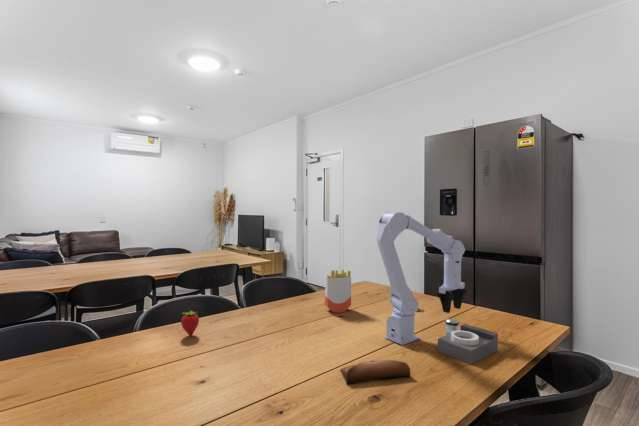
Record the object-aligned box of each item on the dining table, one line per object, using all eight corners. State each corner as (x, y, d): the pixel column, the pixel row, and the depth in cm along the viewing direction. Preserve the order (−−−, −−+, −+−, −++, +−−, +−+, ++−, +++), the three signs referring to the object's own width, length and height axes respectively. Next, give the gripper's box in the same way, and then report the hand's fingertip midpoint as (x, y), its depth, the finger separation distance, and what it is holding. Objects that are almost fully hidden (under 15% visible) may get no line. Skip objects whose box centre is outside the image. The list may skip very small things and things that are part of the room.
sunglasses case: (396, 362, 98) (402, 348, 95) (406, 385, 93) (412, 371, 89) (337, 369, 94) (341, 354, 91) (343, 394, 88) (348, 379, 85)
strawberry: (180, 340, 114) (180, 311, 114) (181, 332, 121) (181, 305, 121) (198, 338, 116) (198, 309, 116) (199, 331, 123) (199, 303, 123)
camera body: (471, 364, 98) (471, 345, 98) (437, 351, 107) (437, 334, 106) (497, 350, 107) (497, 333, 107) (465, 339, 116) (465, 323, 116)
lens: (454, 337, 118) (454, 323, 118) (442, 333, 122) (442, 320, 122) (461, 334, 121) (461, 320, 121) (449, 331, 124) (450, 317, 124)
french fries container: (324, 309, 150) (324, 269, 149) (347, 307, 153) (347, 268, 152) (327, 312, 145) (327, 271, 145) (351, 310, 148) (351, 269, 148)
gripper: (452, 276, 114) (452, 317, 114) (472, 271, 123) (472, 308, 123) (433, 273, 119) (433, 312, 119) (454, 269, 129) (454, 304, 129)
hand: (451, 310), depth 122 cm, fingers open, 7 cm apart
